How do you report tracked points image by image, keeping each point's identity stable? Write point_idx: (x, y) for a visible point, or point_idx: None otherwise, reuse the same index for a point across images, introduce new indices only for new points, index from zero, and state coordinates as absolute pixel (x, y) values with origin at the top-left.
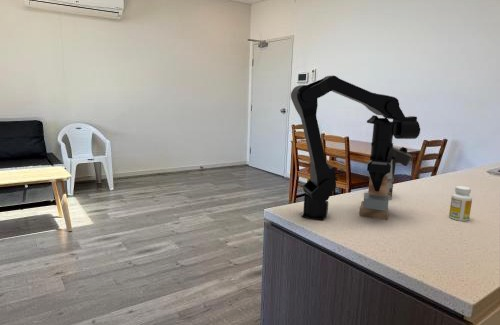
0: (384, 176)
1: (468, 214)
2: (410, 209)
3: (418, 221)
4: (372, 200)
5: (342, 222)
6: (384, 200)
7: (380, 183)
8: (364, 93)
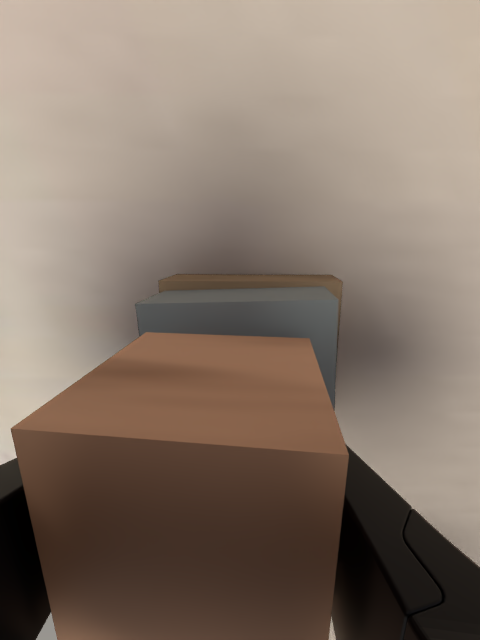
0: (102, 485)
1: None
2: (51, 129)
3: (280, 74)
4: None
5: (451, 486)
6: (319, 331)
7: (390, 498)
8: None
